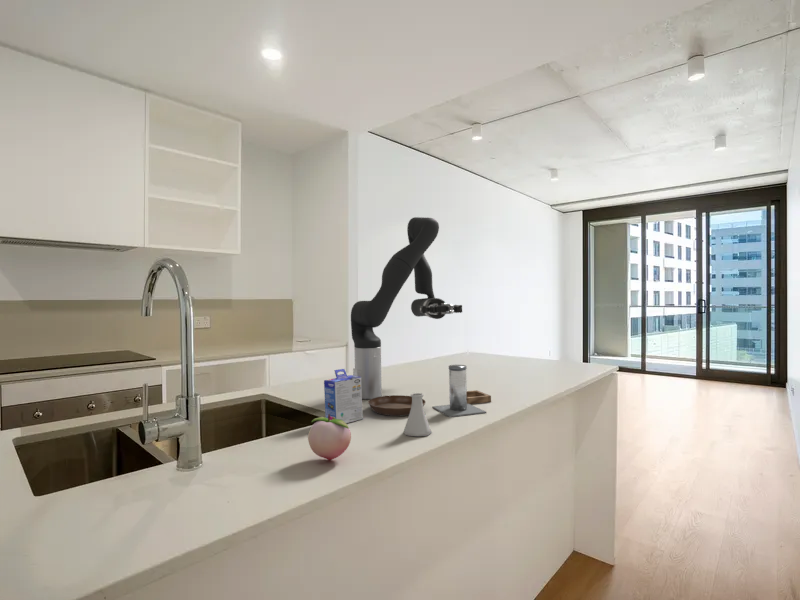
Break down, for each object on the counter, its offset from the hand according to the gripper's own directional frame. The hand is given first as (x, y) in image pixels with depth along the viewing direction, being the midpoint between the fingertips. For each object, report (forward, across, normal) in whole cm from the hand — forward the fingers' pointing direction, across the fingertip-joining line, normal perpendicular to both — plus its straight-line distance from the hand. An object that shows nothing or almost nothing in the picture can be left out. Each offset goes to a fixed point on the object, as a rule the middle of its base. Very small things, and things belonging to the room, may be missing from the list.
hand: (446, 309), depth 155 cm
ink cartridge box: (+20, -36, +30) cm, 51 cm away
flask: (+35, -18, +30) cm, 49 cm away
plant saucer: (+11, -19, +30) cm, 38 cm away
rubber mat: (+15, -1, +30) cm, 34 cm away
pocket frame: (+4, +7, +30) cm, 31 cm away
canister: (+15, -1, +30) cm, 33 cm away
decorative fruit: (+50, -41, +30) cm, 71 cm away
